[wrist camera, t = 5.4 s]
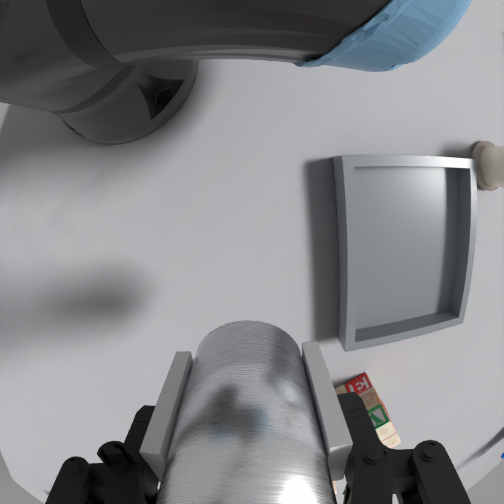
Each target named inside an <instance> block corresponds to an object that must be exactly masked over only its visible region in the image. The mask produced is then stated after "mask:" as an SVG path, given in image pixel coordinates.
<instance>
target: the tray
mask: <svg viewBox="0 0 504 504" xmlns="http://www.w3.org/2000/svg"><path fill="white" fill-rule="evenodd" d="M332 159H333V169H334V181H335V194H336V210H337V229H338V261H339V312H338V339H339V341H340V343H341V345H342V347H343V349H344V351H345V352H347V351H353V350H358V349H363V348H368V347H373V346H378V345H382V344H387V343H391V342H396V341H400V340H404V339H408V338H412V337H416V336H420V335H424V334H427V333H431V332H435V331H438V330H442V329H445V328H448V327H452V326H455V325H458V324H461V323H463V320H464V316H465V311H466V306H467V301H468V295H469V289H470V283H471V276H472V269H473V260H474V250H475V238H476V220H477V179H476V160H475V159H465V158H452V157H437V156H414V155H342V156H337V157H332Z"/></svg>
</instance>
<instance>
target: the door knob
mask: <svg viewBox="0 0 504 504" xmlns="http://www.w3.org/2000/svg"><path fill="white" fill-rule="evenodd" d="M470 159H475V160H476V179H477V185H478V186H479V187H480V188H482V189H484V190H490V191H492V190H495V189H497V188H498V187H503V188H504V146H495V145H494V144H493V143H491V142H488V141H484V142H478V143H477V144H476V145H475V146H474V147H473V149H472V152H471V157H470Z"/></svg>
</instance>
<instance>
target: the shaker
mask: <svg viewBox="0 0 504 504" xmlns="http://www.w3.org/2000/svg"><path fill="white" fill-rule="evenodd" d="M156 504H337V501H336V497H335V492H334V488H333V483H332V479H331V474H330V470H329V466H328V461H327V457H326V453H325V449H324V444H323V440H322V436H321V432H320V428H319V423H318V419H317V415H316V411H315V407H314V403H313V399H312V395H311V391H310V387H309V383H308V379H307V375H306V371H305V367H304V363H303V360H302V356H301V352H300V349H299V347H298V345H297V344H296V342H295V341H294V339H293V338H292V337H291V336H290V335H289V334H287V333H286V332H285V331H283V330H282V329H280V328H278V327H276V326H274V325H271V324H268V323H265V322H259V321H237V322H232V323H228V324H225V325H223V326H220V327H218V328H216V329H214V330H213V331H212V332H210V333H209V334H208V335H207V336H206V337H205V338H204V339H203V340H202V341H201V343H200V345H199V347H198V349H197V352H196V355H195V358H194V362H193V365H192V369H191V372H190V376H189V379H188V383H187V386H186V390H185V394H184V397H183V401H182V404H181V408H180V412H179V415H178V419H177V423H176V426H175V430H174V434H173V438H172V441H171V445H170V449H169V453H168V457H167V461H166V464H165V468H164V472H163V476H162V480H161V484H160V488H159V492H158V496H157V501H156Z"/></svg>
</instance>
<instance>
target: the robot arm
mask: <svg viewBox="0 0 504 504" xmlns="http://www.w3.org/2000/svg"><path fill="white" fill-rule="evenodd" d="M470 2H471V0H0V102H3V103H8V104H14V105H20V106H25V107H30V108H35V109H40V110H45V111H50V112H54V113H55V114H56V115H57V116H59V117H60V118H61V119H62V120H63V121H64V123H65V124H66V125H67V127H68V128H69V129H70V130H72V131H73V132H74V133H75V134H77V135H78V136H80V137H82V138H84V139H87V140H90V141H94V142H100V143H107V144H120V143H126V142H130V141H134V140H137V139H140V138H142V137H144V136H146V135H148V134H150V133H152V132H153V131H155V130H156V129H158V128H159V127H161V126H162V125H163V124H164V123H166V122H167V121H168V120H169V119H170V118H171V117H172V116H173V115H174V114H175V113H176V112H177V111H178V109H179V108H180V107H181V106H182V104H183V103H184V101H185V100H186V98H187V97H188V95H189V93H190V91H191V89H192V87H193V84H194V82H195V78H196V74H197V69H198V59H252V60H268V61H280V62H290V63H293V64H295V65H297V66H299V67H317V66H320V65H328V66H336V67H343V68H350V69H356V70H362V71H370V72H383V71H389V70H394V69H396V68H398V67H400V66H402V65H403V64H408V63H411V62H415V61H417V60H419V59H420V58H422V57H423V56H425V55H427V54H428V53H429V52H431V51H432V50H433V49H434V48H436V47H437V46H438V45H439V44H440V43H441V42H442V41H443V40H444V39H445V38H446V37H447V36H448V35H449V34H450V33H451V32H452V31H453V30H454V28H455V27H456V26H457V24H458V23H459V22H460V20H461V19H462V17H463V15H464V14H465V12H466V10H467V8H468V6H469V5H470ZM302 360H303V363H304V367H305V371H306V375H307V379H308V383H309V387H310V391H311V395H312V399H313V403H314V407H315V411H316V415H317V419H318V423H319V428H320V432H321V436H322V440H323V444H324V449H325V453H326V457H327V461H328V466H329V470H330V474H331V479H332V481H336V480H341V479H343V477H344V474H345V477H346V481H347V484H346V487H345V490H344V493H343V495H344V502H343V504H392V494H396V496H397V499H398V502H399V504H471V503H470V500H469V498H468V495H467V493H466V491H465V489H464V487H463V484H462V482H461V480H460V478H459V476H458V474H457V472H456V470H455V468H454V466H453V464H452V462H451V460H450V458H449V456H448V454H447V452H446V450H445V448H444V446H443V445H442V444H441V443H439V442H437V441H433V440H427V441H423V442H421V443H419V444H418V445H417V446H416V447H415V448H414V449H404V450H396V449H391V448H388V447H387V446H385V445H384V444H383V443H382V442H381V441H380V439H379V437H378V434H377V432H376V430H375V427H374V425H373V423H372V420H371V418H370V416H369V413H368V411H367V409H366V406H365V404H364V402H363V400H362V398H361V397H360V396H359V395H358V394H356V393H355V392H354V391H353V392H348V393H343V394H338V395H336V392H335V389H334V387H333V384H332V381H331V378H330V375H329V373H328V370H327V367H326V364H325V361H324V359H323V356H322V353H321V350H320V348H319V345H318V342H317V341H312V342H305V343H302ZM192 365H193V359H192V355H191V351H189V352H176V354H175V357H174V359H173V362H172V364H171V367H170V370H169V372H168V375H167V377H166V380H165V383H164V385H163V388H162V391H161V393H160V396H159V399H158V401H157V404H156V406H148V405H144V406H143V407H142V408H141V409H140V410H139V411H138V412H137V413H136V415H135V418H134V420H133V422H132V425H131V427H130V428H131V429H130V430H129V432H128V434H127V437H126V439H125V442H124V443H122V442H120V441H111V442H107V443H105V444H103V445H102V446H101V447H100V448H99V449H98V452H97V455H98V456H99V457H100V459H101V460H102V461H103V463H91V464H89V463H88V462H87V461H86V460H85V459H84V458H82V457H76V456H75V457H71V458H69V459H67V460H66V461H65V462H64V463H63V465H62V467H61V469H60V471H59V474H58V476H57V478H56V480H55V482H54V485H53V487H52V489H51V491H50V494H49V496H48V498H47V501H46V503H45V504H156V501H157V496H158V492H159V490H158V489H157V487H158V483H159V481H160V483H161V480H162V476H163V472H164V468H165V464H166V461H167V457H168V453H169V449H170V445H171V441H172V438H173V434H174V430H175V426H176V423H177V419H178V415H179V412H180V408H181V404H182V401H183V397H184V394H185V390H186V386H187V383H188V379H189V376H190V372H191V369H192Z"/></svg>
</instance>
